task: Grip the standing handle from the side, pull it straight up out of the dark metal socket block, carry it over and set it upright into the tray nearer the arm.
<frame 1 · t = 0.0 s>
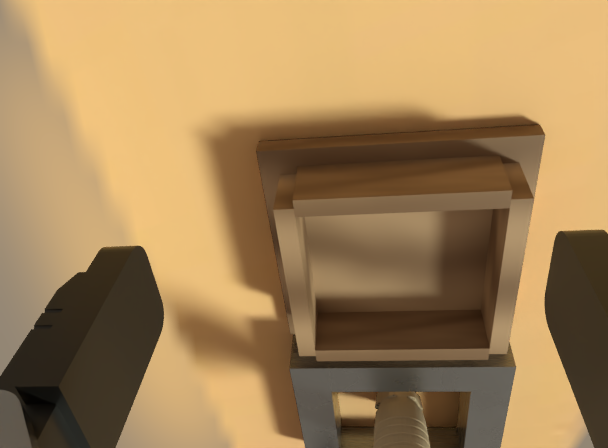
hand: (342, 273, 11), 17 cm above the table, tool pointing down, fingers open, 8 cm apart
handle: (397, 391, 42), resting in socket block
socket block: (398, 393, 42), on the table
tray: (396, 239, 33), on the table
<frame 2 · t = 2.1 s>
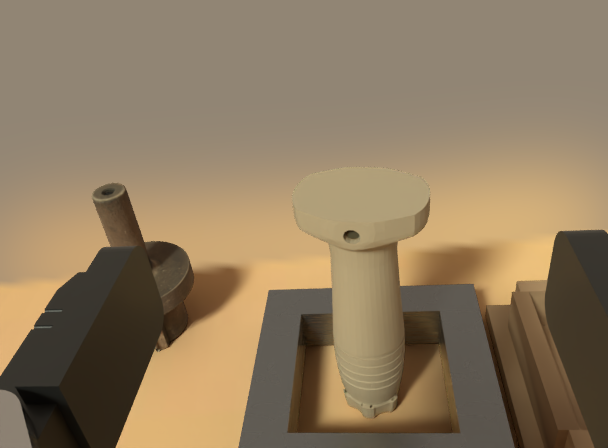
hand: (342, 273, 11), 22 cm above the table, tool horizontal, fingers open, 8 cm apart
handle: (372, 401, 35), resting in socket block
socket block: (372, 399, 35), on the table
industrial component: (154, 336, 42), on the table
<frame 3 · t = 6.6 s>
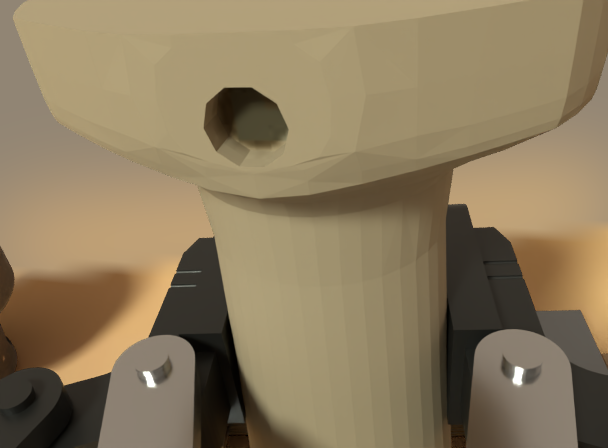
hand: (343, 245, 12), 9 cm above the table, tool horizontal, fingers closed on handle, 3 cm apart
when the fingers open (11 cm above the table, at t = 12.3 s): handle stays where it is, resting on tray.
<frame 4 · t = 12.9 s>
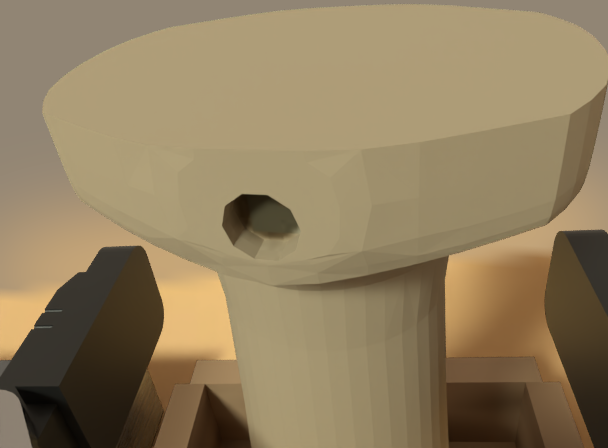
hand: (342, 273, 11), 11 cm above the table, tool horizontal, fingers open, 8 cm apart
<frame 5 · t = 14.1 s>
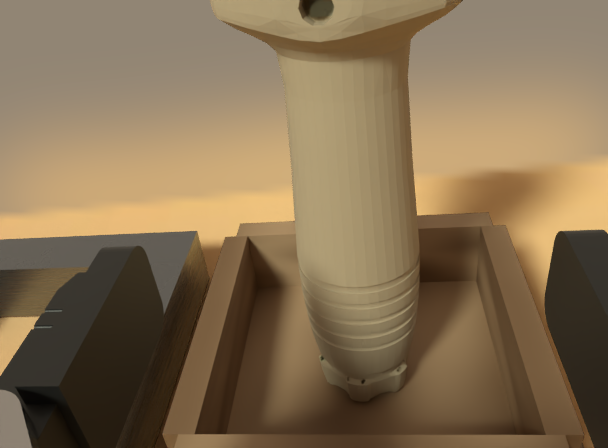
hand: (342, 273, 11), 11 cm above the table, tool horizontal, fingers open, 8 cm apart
handle: (366, 375, 22), point 1 cm above the table, touching tray
socket block: (17, 388, 24), on the table
tray: (366, 385, 22), on the table
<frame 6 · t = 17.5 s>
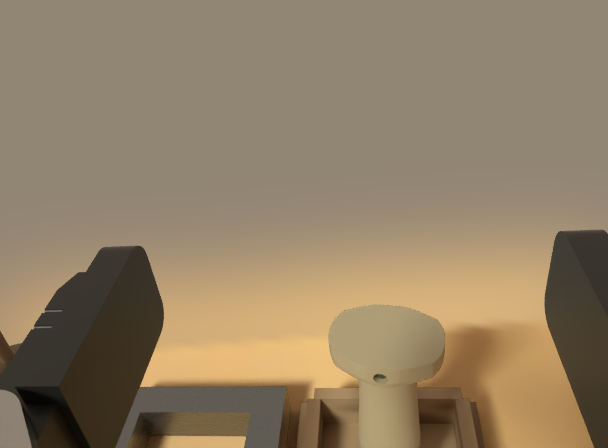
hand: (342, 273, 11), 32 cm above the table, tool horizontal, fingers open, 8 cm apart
industrial component: (28, 423, 49), on the table
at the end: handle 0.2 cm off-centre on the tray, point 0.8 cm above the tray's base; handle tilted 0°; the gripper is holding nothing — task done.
